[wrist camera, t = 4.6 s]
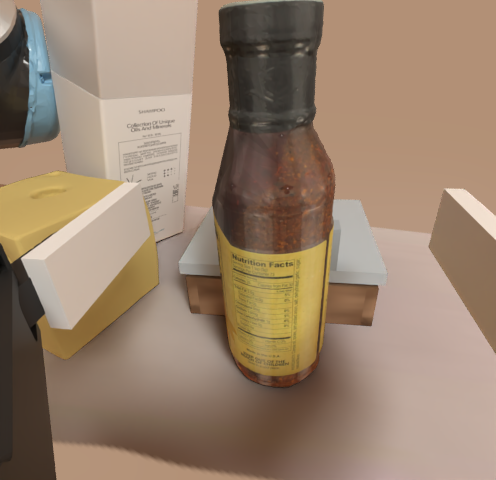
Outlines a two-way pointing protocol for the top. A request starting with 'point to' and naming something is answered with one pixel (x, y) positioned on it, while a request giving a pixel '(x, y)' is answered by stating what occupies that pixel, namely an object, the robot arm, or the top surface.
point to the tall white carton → (126, 94)
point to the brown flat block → (337, 311)
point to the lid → (342, 255)
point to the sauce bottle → (273, 191)
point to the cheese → (52, 220)
